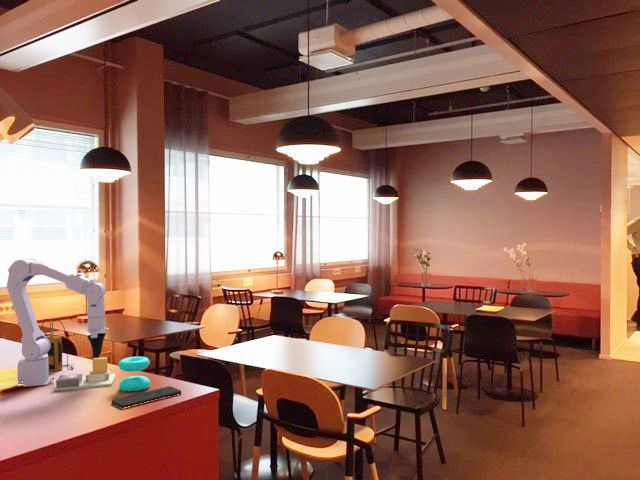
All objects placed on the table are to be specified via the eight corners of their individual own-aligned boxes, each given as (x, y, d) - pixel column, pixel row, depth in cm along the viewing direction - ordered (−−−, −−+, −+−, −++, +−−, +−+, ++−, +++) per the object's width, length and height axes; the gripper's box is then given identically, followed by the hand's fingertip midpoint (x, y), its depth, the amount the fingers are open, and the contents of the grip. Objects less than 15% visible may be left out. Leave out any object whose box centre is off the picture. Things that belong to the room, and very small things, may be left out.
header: (86, 381, 190) (85, 375, 190) (88, 377, 196) (88, 371, 196) (108, 379, 192) (108, 373, 192) (110, 375, 198) (110, 369, 198)
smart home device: (182, 390, 176) (122, 405, 161) (182, 395, 176) (122, 410, 161) (169, 385, 181) (110, 399, 167) (169, 390, 181) (110, 405, 167)
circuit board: (54, 390, 182) (54, 388, 182) (63, 379, 196) (63, 377, 196) (111, 385, 187) (111, 383, 187) (116, 375, 200) (116, 373, 200)
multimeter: (84, 365, 216) (82, 315, 216) (64, 372, 207) (63, 319, 206) (55, 363, 221) (53, 314, 221) (35, 369, 212) (33, 318, 211)
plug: (92, 379, 192) (92, 359, 192) (94, 377, 195) (93, 358, 195) (107, 378, 193) (106, 358, 193) (108, 376, 196) (107, 357, 196)
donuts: (130, 364, 176) (112, 360, 182) (131, 394, 176) (112, 390, 182) (155, 357, 184) (137, 354, 190) (156, 387, 184) (137, 382, 190)
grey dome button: (56, 388, 182) (56, 380, 182) (60, 382, 189) (60, 375, 189) (78, 386, 184) (78, 378, 184) (82, 380, 191) (82, 373, 191)
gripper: (105, 318, 187) (106, 358, 187) (110, 312, 201) (111, 349, 201) (83, 320, 185) (84, 359, 186) (90, 314, 199) (91, 350, 200)
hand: (97, 354), depth 193 cm, fingers closed
